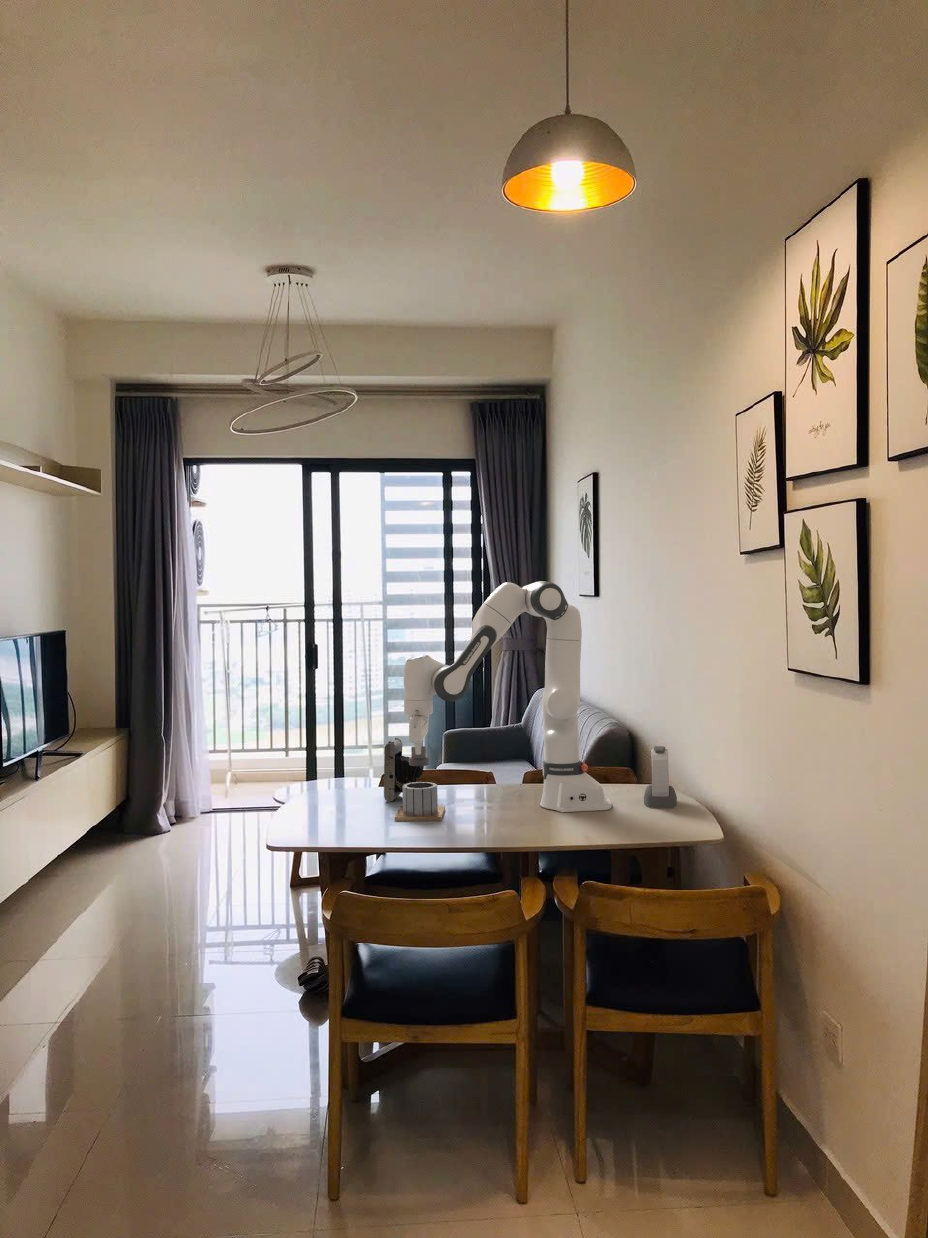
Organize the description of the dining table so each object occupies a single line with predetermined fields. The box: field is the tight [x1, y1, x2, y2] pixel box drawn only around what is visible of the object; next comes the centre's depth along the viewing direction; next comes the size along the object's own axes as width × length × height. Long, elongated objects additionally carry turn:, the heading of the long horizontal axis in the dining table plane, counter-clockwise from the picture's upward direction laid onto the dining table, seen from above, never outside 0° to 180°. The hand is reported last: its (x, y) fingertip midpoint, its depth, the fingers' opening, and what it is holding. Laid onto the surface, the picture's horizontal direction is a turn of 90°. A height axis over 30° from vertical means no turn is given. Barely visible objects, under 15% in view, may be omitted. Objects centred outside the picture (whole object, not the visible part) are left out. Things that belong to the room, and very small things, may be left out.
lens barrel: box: [394, 781, 446, 822], centre depth 272 cm, size 14×14×9 cm
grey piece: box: [643, 745, 678, 810], centre depth 281 cm, size 16×10×18 cm, turn 168°
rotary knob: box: [409, 745, 430, 767], centre depth 271 cm, size 6×6×6 cm
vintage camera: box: [383, 737, 425, 803], centre depth 294 cm, size 10×15×20 cm, turn 78°
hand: (419, 753), depth 271 cm, fingers closed on rotary knob
